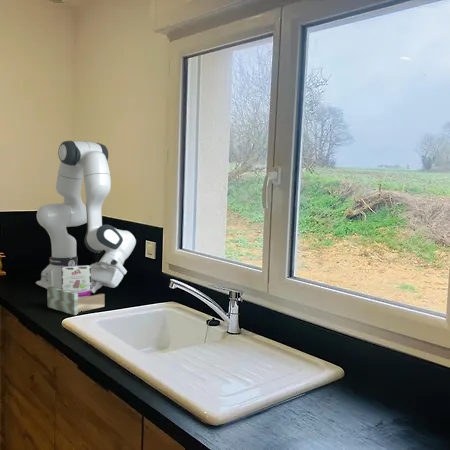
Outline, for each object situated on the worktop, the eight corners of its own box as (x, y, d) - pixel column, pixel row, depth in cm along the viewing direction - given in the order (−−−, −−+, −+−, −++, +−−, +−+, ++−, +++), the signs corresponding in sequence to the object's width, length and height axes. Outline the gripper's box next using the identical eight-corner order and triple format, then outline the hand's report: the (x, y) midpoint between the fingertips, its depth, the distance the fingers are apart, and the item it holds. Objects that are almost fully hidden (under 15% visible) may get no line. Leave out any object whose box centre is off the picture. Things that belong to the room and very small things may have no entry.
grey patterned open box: (47, 306, 202) (47, 287, 201) (81, 300, 214) (81, 281, 213) (74, 315, 190) (74, 294, 190) (108, 307, 203) (108, 287, 202)
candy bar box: (90, 304, 206) (90, 264, 205) (91, 307, 202) (91, 266, 200) (61, 306, 202) (60, 265, 201) (61, 309, 198) (61, 268, 196)
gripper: (90, 257, 217) (70, 283, 211) (121, 263, 205) (101, 290, 198) (98, 266, 221) (79, 292, 215) (129, 272, 209) (110, 300, 202)
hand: (90, 291), depth 206 cm, fingers closed
